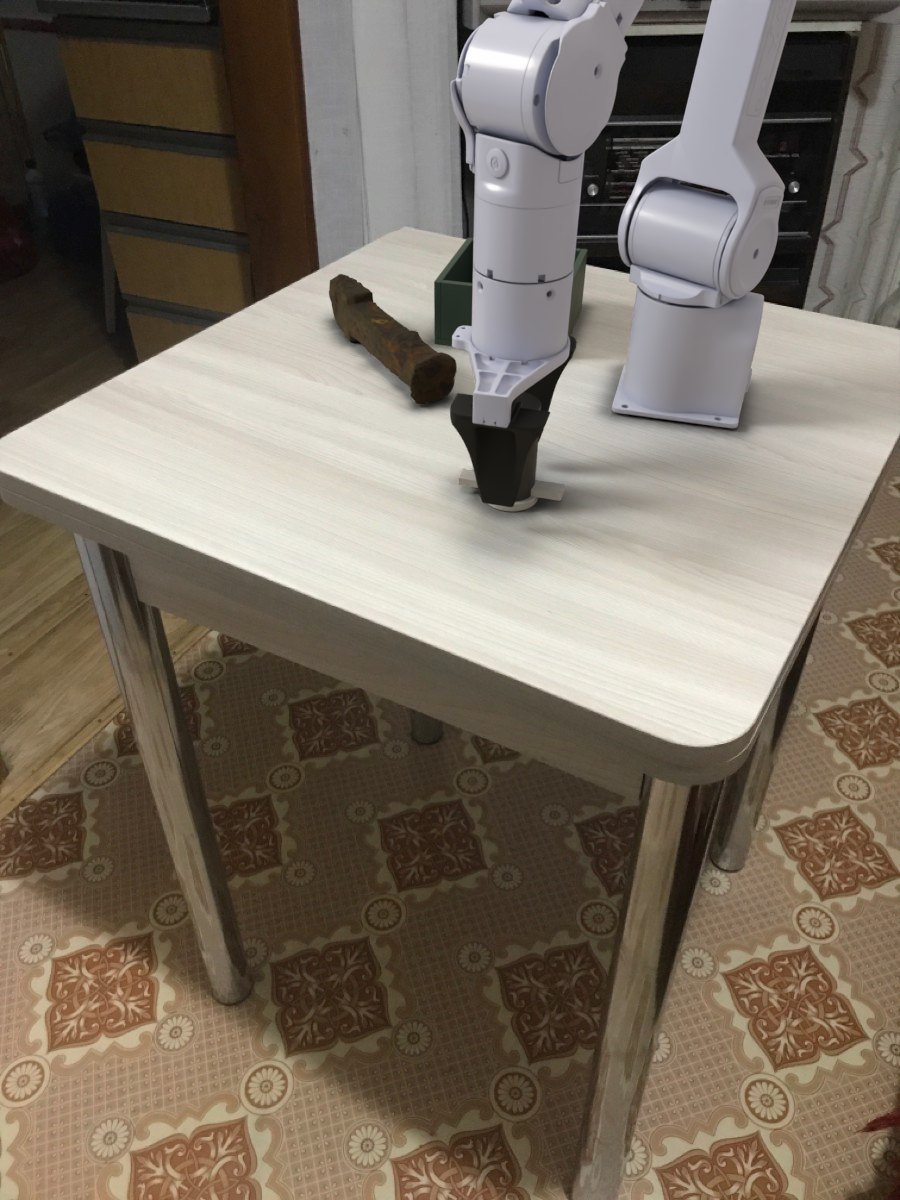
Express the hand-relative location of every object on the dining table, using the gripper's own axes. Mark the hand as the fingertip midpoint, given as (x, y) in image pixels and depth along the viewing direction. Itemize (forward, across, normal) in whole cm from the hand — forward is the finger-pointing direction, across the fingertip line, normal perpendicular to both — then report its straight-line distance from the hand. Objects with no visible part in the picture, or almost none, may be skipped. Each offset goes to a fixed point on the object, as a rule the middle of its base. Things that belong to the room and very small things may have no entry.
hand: (511, 470), depth 60 cm
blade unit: (+2, 0, 0) cm, 2 cm away
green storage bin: (+2, -27, -6) cm, 28 cm away
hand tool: (+2, -17, -15) cm, 23 cm away
